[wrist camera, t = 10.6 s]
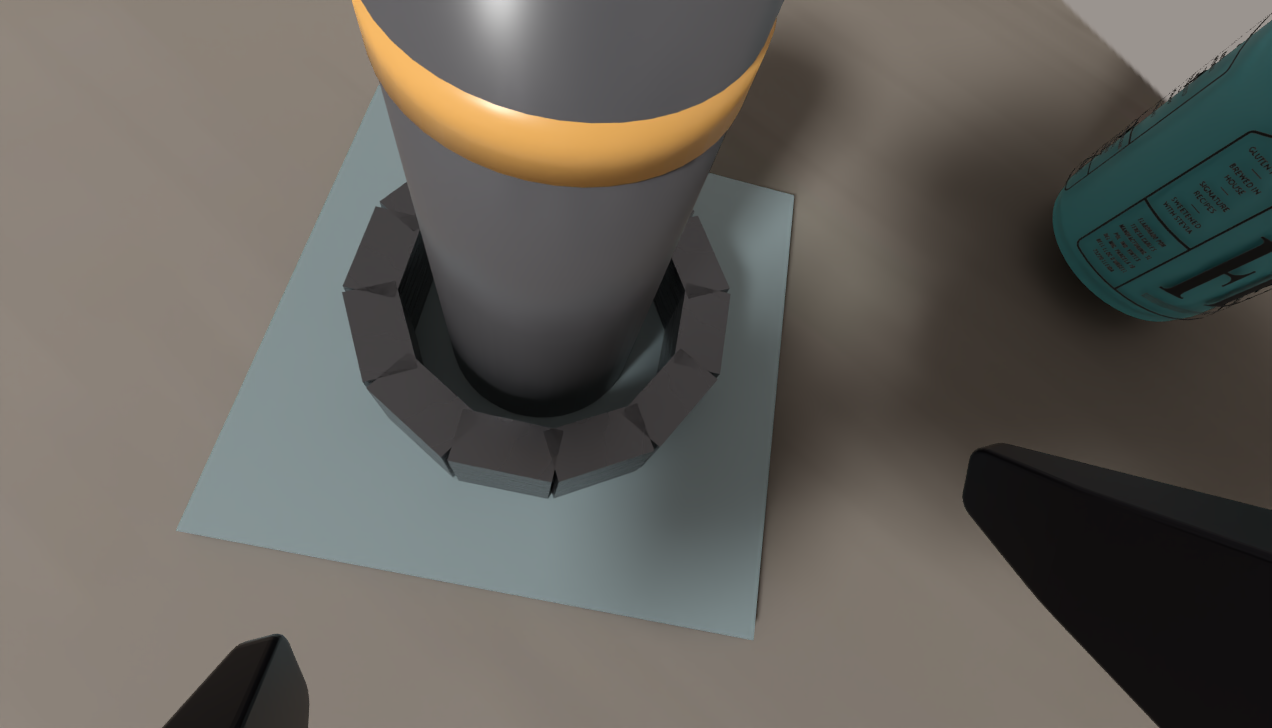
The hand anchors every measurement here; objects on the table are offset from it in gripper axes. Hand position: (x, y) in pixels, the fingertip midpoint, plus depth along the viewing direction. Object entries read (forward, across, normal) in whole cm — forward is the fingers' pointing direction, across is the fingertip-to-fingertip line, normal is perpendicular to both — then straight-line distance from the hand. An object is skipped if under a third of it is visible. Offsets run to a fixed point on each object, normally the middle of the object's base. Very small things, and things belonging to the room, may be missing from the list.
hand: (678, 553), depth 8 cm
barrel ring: (+11, 0, +1) cm, 11 cm away
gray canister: (+11, 0, +1) cm, 11 cm away
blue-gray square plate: (+11, 0, +1) cm, 11 cm away
